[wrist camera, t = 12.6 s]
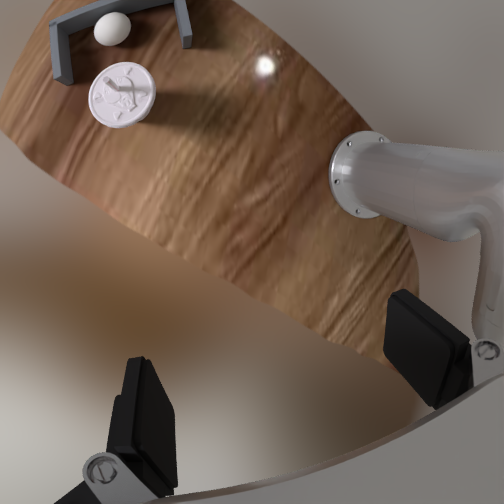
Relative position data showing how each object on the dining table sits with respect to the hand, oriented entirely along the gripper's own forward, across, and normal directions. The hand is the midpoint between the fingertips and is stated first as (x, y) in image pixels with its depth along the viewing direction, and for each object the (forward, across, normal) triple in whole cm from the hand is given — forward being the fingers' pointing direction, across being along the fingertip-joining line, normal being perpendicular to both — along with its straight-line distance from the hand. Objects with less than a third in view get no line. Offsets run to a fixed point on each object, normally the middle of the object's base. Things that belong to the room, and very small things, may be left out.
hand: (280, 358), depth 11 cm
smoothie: (+29, +7, -14) cm, 33 cm away
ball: (+27, +8, -25) cm, 37 cm away
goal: (+29, +8, -25) cm, 39 cm away
